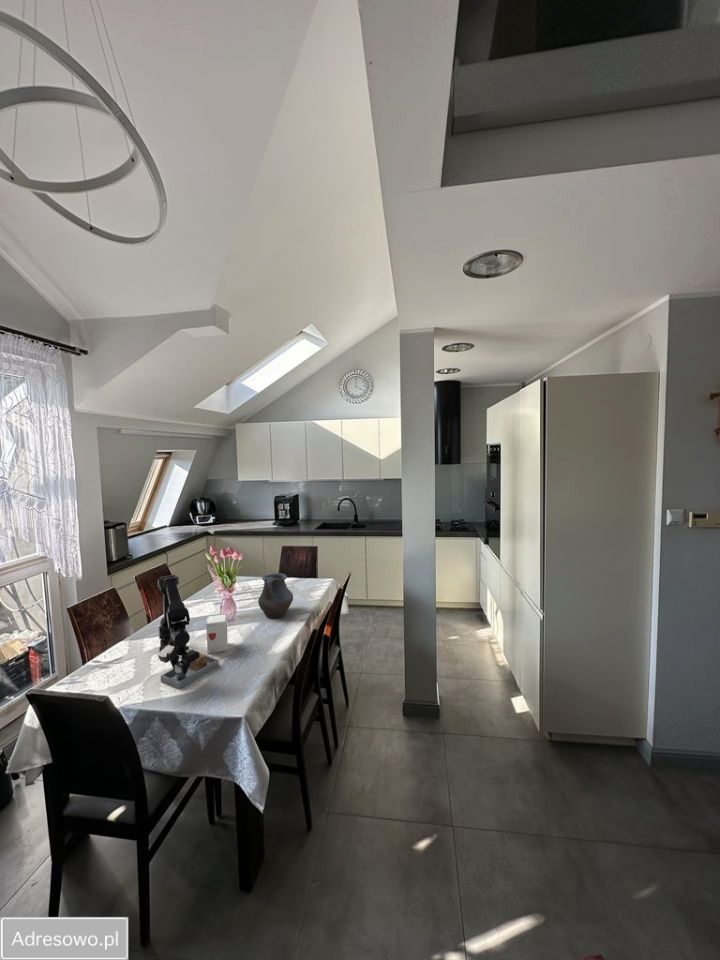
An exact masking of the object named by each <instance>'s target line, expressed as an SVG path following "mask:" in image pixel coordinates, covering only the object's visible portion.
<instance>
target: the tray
mask: <svg viewBox="0 0 720 960" xmlns="http://www.w3.org/2000/svg"><path fill="white" fill-rule="evenodd" d="M206 656H207V666H205V667H204V668H202V669H200V670H199V671H195V670H192V669H190V666H189V668H188V671H187V673H186V677H185V678H184V679H183V680H176V679H175V671H174V669H173V668H171V669H170V670H168V671H166V672H164V673H163V674H160V682H161V683H163V684H166V685H168V686H171V687H173V688H175V689H178V690H182V689H183V688H184V687H186V686H187V685H189V684H191V683H193V682H194V681H196V680H198V679H199V678H201V677H202V676H203V675H206V674H207V673H209V672H211V671H212V670H214V669H216V667H219V666H220V664H219V663H220V662H219V659H218V658H215V657H211V656H208V655H206Z"/></svg>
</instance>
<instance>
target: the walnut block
mask: <svg viewBox="0 0 720 960" xmlns="http://www.w3.org/2000/svg"><path fill="white" fill-rule="evenodd" d="M199 653H200V658H198V659H197V660H195V661H193V662H191V664H190V669H192V670H195V671H199V670H200V669H202V668H204V667H205V666H207V656H208V655H207V654H204V653H201V652H199Z"/></svg>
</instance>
